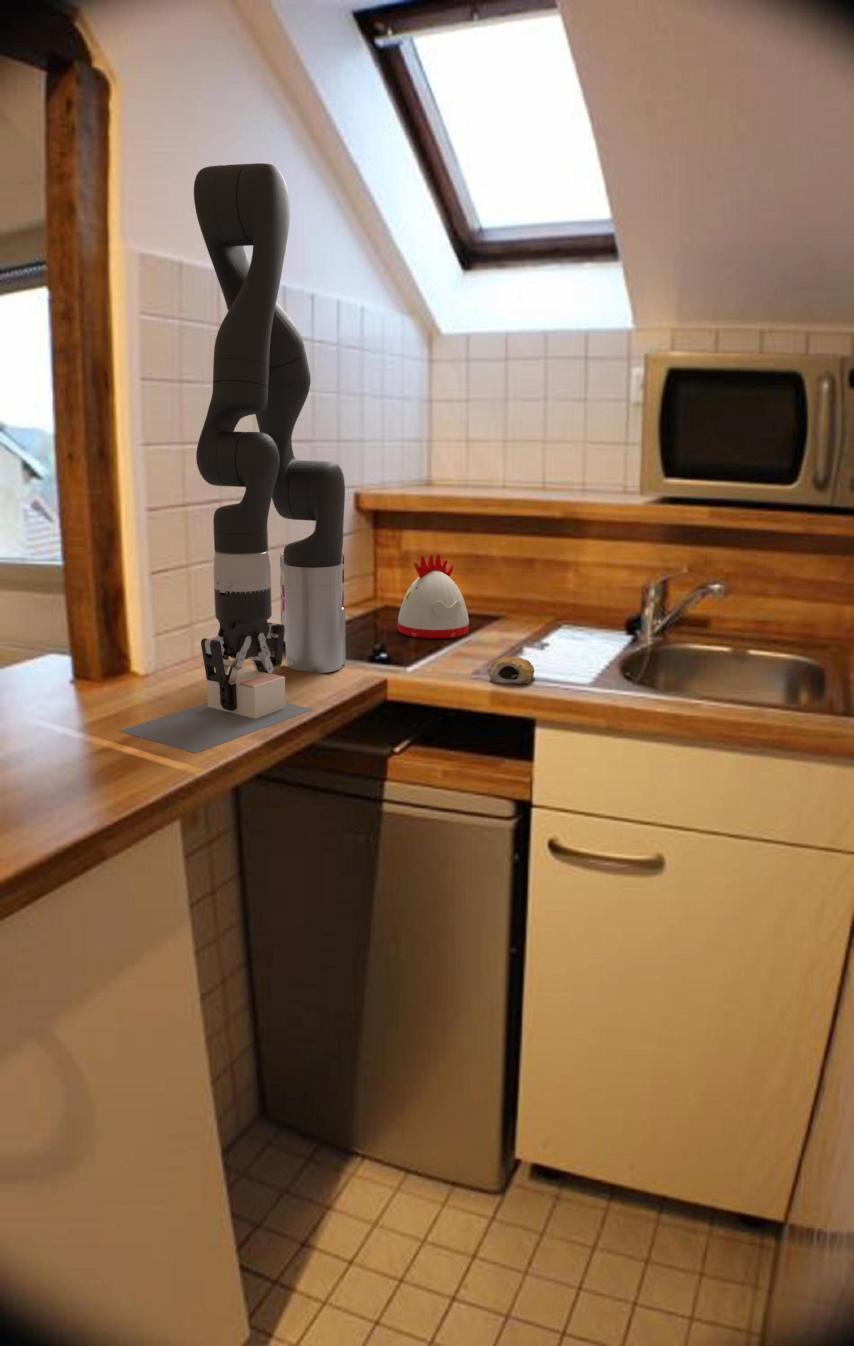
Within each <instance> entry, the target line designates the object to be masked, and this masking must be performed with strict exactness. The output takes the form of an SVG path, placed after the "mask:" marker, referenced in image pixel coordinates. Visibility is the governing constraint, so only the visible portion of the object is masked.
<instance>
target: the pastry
mask: <svg viewBox="0 0 854 1346" xmlns="http://www.w3.org/2000/svg"><path fill="white" fill-rule="evenodd" d="M534 667H535V666H534V665H533V664H532V662H531V661H530V660H528V659H525V658H522V657H519V656H504V657H499V658H498V659H497V660H495V661H494V662H493V663H492V664H491V668H490V673H488V676H489V679H490V681H492V682H493V683H497V682H500V684H512V683H514V684H513V685H523V684H522V683H526V684H528V683H530V682H532V680H533V677H534V674H535V668H534ZM527 682H528V683H527Z"/></svg>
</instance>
